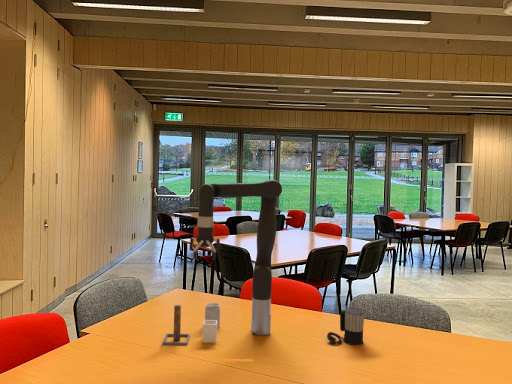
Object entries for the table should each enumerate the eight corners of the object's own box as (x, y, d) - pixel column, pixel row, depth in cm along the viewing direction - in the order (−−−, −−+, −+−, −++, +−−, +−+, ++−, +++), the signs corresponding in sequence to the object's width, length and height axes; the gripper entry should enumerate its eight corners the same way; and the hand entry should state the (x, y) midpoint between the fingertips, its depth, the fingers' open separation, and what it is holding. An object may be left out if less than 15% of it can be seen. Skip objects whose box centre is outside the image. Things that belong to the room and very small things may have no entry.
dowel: (180, 339, 202) (181, 304, 202) (179, 341, 199) (180, 306, 199) (173, 339, 202) (174, 304, 202) (172, 341, 199) (173, 306, 199)
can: (212, 331, 215) (213, 307, 215) (201, 328, 220) (202, 304, 219) (222, 328, 221) (223, 304, 221) (211, 324, 226) (212, 301, 225)
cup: (216, 339, 206) (217, 320, 205) (216, 344, 200) (216, 324, 199) (203, 339, 206) (204, 319, 205) (202, 344, 199) (202, 324, 199)
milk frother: (367, 342, 208) (368, 311, 208) (349, 350, 197) (350, 318, 196) (341, 334, 218) (343, 304, 218) (322, 341, 207) (324, 310, 206)
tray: (190, 337, 207) (190, 333, 207) (187, 346, 196) (187, 342, 196) (166, 337, 206) (166, 333, 206) (162, 346, 195) (162, 342, 195)
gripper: (220, 225, 214) (219, 258, 214) (191, 224, 213) (190, 257, 214) (220, 227, 206) (219, 261, 207) (189, 226, 206) (188, 260, 206)
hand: (204, 259), depth 210 cm, fingers open, 8 cm apart
